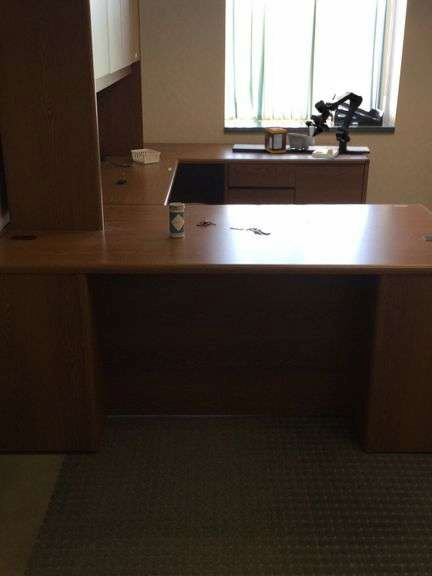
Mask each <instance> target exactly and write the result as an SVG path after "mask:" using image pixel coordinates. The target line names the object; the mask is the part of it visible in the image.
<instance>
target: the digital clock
mask: <svg viewBox="0 0 432 576" xmlns="http://www.w3.org/2000/svg"><path fill="white" fill-rule="evenodd" d="M287 135H288V136H287V137H288V141H289V149H290V148H295V149H303V148H305V149H303V150H309V149H310V146H309V138H308V134H299V133H292V132H289V133H287ZM295 149H294V150H295Z"/></svg>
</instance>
